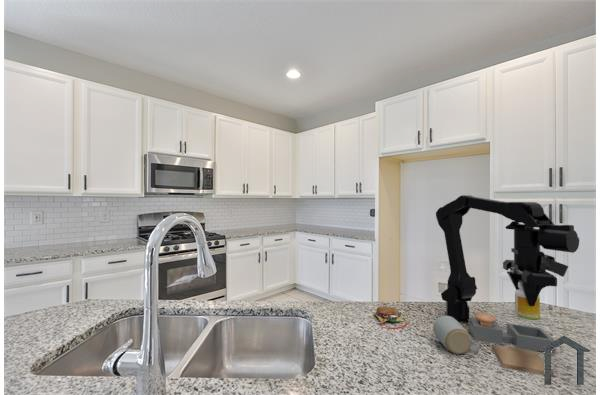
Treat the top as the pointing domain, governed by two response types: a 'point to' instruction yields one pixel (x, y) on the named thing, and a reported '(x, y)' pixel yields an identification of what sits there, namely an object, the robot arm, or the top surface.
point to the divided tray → (512, 335)
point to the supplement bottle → (526, 307)
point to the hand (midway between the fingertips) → (526, 302)
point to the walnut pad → (520, 359)
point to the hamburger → (388, 316)
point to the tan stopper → (485, 318)
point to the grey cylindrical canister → (453, 335)
